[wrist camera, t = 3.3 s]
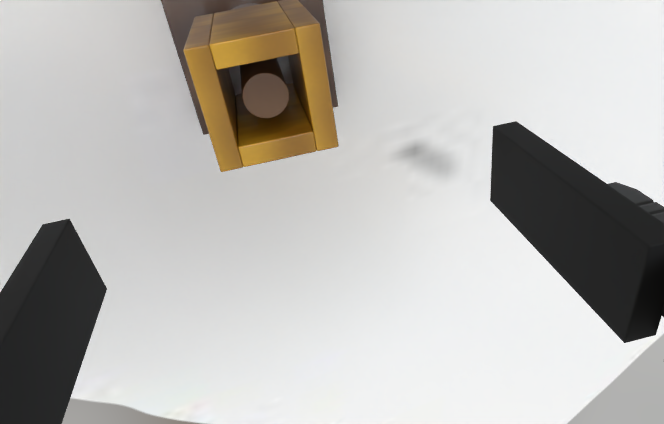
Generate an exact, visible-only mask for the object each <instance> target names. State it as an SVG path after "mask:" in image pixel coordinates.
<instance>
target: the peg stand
mask: <svg viewBox="0 0 664 424" xmlns="http://www.w3.org/2000/svg"><path fill="white" fill-rule="evenodd" d="M275 1H277V2H278V1H281V0H161V2H162V5H163V8H164V12H165V15H166V18H167V21H168V24H169V27H170V30H171V34H172V37H173V40H174V43H175V46H176V49H177V53H178V56H179V59H180V62H181V65H182V68H183V71H184V75H185V78H186V81H187V84H188V87H189V90H190V94H191V97H192V100H193V103H194V106H195V109H196V113H197V116H198V119H199V122H200V125H201V128H202V131H203V134H204V135H205V134H209V132H208V128H207V125H206V122H205V119H204V116H203V112H202V109H201V106H200V103H199V99H198V96H197V93H196V90H195V86H194V83H193V80H192V77H191V74H190V70H189V67H188V64H187V61H186V57H185V54H184V47H185V44H186V41H187V38H188V35H189V32H190V29H191V26H192V23H193V20H194V18H195V17H197V16H202V15H207V14H214V13H218V12H223V11H228V10H233V9H239V8H244V7H249V6H254V5H260V4H265V3H270V2H275ZM298 1H299V2H300V3H301V4H302V5H303V6H304V7H305V8H306V9H307V10H308V11H309V12H310V14H311V15H312V16H313V17H314V18H315V19H316V20H317V21H318V22H319V23H320V28H321V35H322V41H323V48H324V54H325V61H326V67H327V74H328V80H329V87H330V93H331V100H332V106H333V107H337V106H338V102H337V96H336V89H335V82H334V75H333V68H332V62H331V55H330V48H329V41H328V34H327V28H326V21H325V14H324V7H323V0H298ZM228 70H229V74H230V77H231V81H232V85H233V89H234V93H235V96H236V95H237V94H242V99H243V103H244V105H245V107H246V108H247V110H248V111H249V112H250V113H252V114H253V115H255V116H257V117H260V118H272V117H275V116H277V115H279V114H280V113H282V112H283V111H284V109H285V108H286V106H287V104H288V101H289V91H288V87H287V85H286V84H291V83H293V79H292V74H291V69H290V63H289V58H288V56H284V57H279V58H274V59H269V60H264V61H259V62H254V63H249V64H244V65H239V66H234V67H229V68H228Z"/></svg>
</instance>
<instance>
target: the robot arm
mask: <svg viewBox="0 0 664 424" xmlns="http://www.w3.org/2000/svg"><path fill="white" fill-rule="evenodd" d="M490 201H491V202H492V203H493V204H494V205H495V206H496V207H497V208H498V209H499V210H500V211H501V212H502V213H503V214H504V216H505V217H506V218H507V219H508V220H509V221H510V222H511V223H512V224H513V225H514V226H515V227H516V228H517V229H518V230H519V231H520V232H521V234H522V235H523V236H524V237H525V238H526V239H527V240H528V241H529V242H530V243H531V244H532V245H533V246H534V247H535V248H536V249H537V251H538V252H539V253H540V254H541V255H542V256H543V257H544V258H545V259H546V260H547V261H548V262H549V263H550V264H551V265H552V266H553V268H554V269H555V270H556V271H557V272H558V273H559V274H560V275H561V276H562V277H563V278H564V279H565V280H566V281H567V282H568V283H569V285H570V286H571V287H572V288H573V289H574V290H575V291H576V292H577V293H578V294H579V295H580V296H581V297H582V298H583V299H584V300H585V301H586V303H587V304H588V305H589V306H590V307H591V308H592V309H593V310H594V311H595V312H596V313H597V314H598V315H599V316H600V317H601V318H602V320H603V321H604V322H605V323H606V324H607V325H608V326H609V327H610V328H611V329H612V330H613V331H614V332H615V333H616V334H617V335H618V337H619V338H620V339H621V340H622V341H623V342H624V343H626V342H630V341H634V340H638V339H642V338H646V337H649V336H653V335H656V332H657V329H658V325H659V322H660V319H661V316H663V317H664V207H663V206H661V205H660V204H658V203H657V202H653V200H652V199H651V198H649V197H648V196H646V195H644V194H643V193H641V192H640V191H638V190H637V189H634V188H631V187H628V186H625V185H622V184H620V183H617V182H615V183H610V184H606V183H605V182H603V181H602V180H600V179H599V178H598V177H596V176H595V175H593V174H592V173H590V172H589V171H587V170H586V169H585V168H583V167H582V166H580V165H579V164H577V163H576V162H574V161H573V160H571V159H570V158H569V157H567V156H566V155H564V154H563V153H561V152H560V151H558V150H557V149H556V148H554V147H553V146H551V145H550V144H548V143H547V142H545V141H544V140H542V139H541V138H540V137H538V136H537V135H535V134H534V133H532V132H531V131H529V130H528V129H526V128H525V127H524V126H522V125H521V124H519V123H518V122H511V123H506V124H502V125H497V126H493V144H492V171H491V198H490ZM106 290H107V288H106V286H105V284H104V282H103V281H102V279H101V277H100V275H99V273H98V271H97V269H96V268H95V266H94V264H93V262H92V260H91V258H90V256H89V254H88V253H87V251H86V249H85V247H84V245H83V243H82V241H81V240H80V238H79V236H78V234H77V232H76V230H75V228H74V226H73V225H72V223H71V221H70V219H66V220H61V221H57V222H52V223H48V224H43V225H42V227H41V228H40V230H39V231H38V233H37V235H36V236H35V238H34V239H33V241H32V243H31V244H30V246H29V247H28V249H27V251H26V252H25V254H24V256H23V257H22V259H21V260H20V262H19V264H18V265H17V267H16V268H15V270H14V272H13V273H12V275H11V276H10V278H9V280H8V281H7V283H6V284H5V286H4V288H3V289H2V291H1V292H0V424H61V423H62V421H63V418H64V415H65V412H66V409H67V406H68V403H69V400H70V397H71V394H72V391H73V388H74V385H75V382H76V379H77V376H78V373H79V370H80V367H81V364H82V361H83V358H84V355H85V352H86V349H87V346H88V344H89V341H90V338H91V335H92V332H93V329H94V326H95V323H96V320H97V317H98V314H99V311H100V308H101V305H102V302H103V299H104V296H105V293H106Z"/></svg>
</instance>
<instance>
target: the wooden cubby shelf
mask: <svg viewBox="0 0 664 424" xmlns="http://www.w3.org/2000/svg"><path fill="white" fill-rule="evenodd" d="M184 54H185V57H186V61H187V64H188V67H189V70H190V74H191V77H192V80H193V83H194V86H195V90H196V93H197V96H198V99H199V103H200V106H201V109H202V112H203V116H204V119H205V122H206V125H207V128H208V132H209V135H210V138H211V141H212V145H213V148H214V151H215V154H216V158H217V161H218V164H219V167H220V170H221V172H224V171H228V170H233V169H238V168H242V167H243V166H244V167H246V166H251V165H256V164H260V163H265V162H269V161H274V160H279V159H283V158H288V157H292V156H297V155H301V154H306V153H311V152H315V151H316V150H317V151H320V150H325V149H330V148H334V147H338V139H337V133H336V126H335V119H334V113H333V106H332V100H331V93H330V87H329V80H328V74H327V67H326V61H325V54H324V48H323V41H322V35H321V28H320V23H319V22H318V21H317V20H316V19H315V18H314V17H313V16H312V15H311V14H310V12H309V11H308V10H307V9H306V8H305V7H304V6H303V5H302V4H301V3H300V2H299V1H298V0H281V1H278V2H277V1H275V2H270V3H265V4H260V5H254V6H249V7H244V8H239V9H233V10H228V11H223V12H218V13H214V14H207V15H202V16H197V17H195V18H194V20H193V23H192V26H191V29H190V32H189V35H188V38H187V41H186V44H185V47H184ZM284 56H288V58H289V63H290V69H291V74H292V79H293V83H291V84H286V85H287V87H288V91H289V101H288V104H287V106H286V108H285V109H284V111H283V112H282V113H280V114H279V115H277V116H275V117H272V118H260V117H257V116H255V115H253V114H252V113H250V112H249V111H248V110H247V108H246V107H245V105H244V103H243V99H242V94H237V95H236V96H235V93H234V89H233V85H232V81H231V77H230V74H229V70H228V68H229V67H234V66H239V65H244V64H249V63H254V62H259V61H264V60H269V59H274V58H279V57H284Z"/></svg>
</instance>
